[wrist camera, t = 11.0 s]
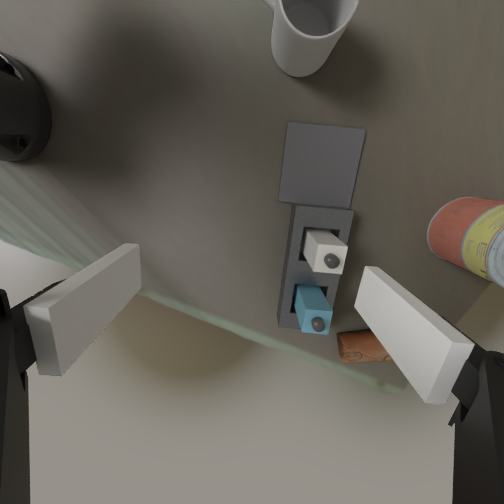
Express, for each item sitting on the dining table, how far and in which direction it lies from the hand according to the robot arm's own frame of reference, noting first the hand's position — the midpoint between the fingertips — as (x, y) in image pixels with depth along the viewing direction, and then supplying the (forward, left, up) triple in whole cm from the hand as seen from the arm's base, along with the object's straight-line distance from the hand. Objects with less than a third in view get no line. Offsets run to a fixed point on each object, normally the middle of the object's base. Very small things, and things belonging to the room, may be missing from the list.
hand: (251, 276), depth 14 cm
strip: (+11, -10, -29) cm, 32 cm away
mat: (+10, +7, -29) cm, 32 cm away
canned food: (+36, -1, -29) cm, 46 cm away
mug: (+3, +24, -29) cm, 38 cm away
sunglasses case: (+28, -25, -30) cm, 48 cm away
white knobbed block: (+11, -5, -28) cm, 31 cm away
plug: (+11, -15, -28) cm, 34 cm away
